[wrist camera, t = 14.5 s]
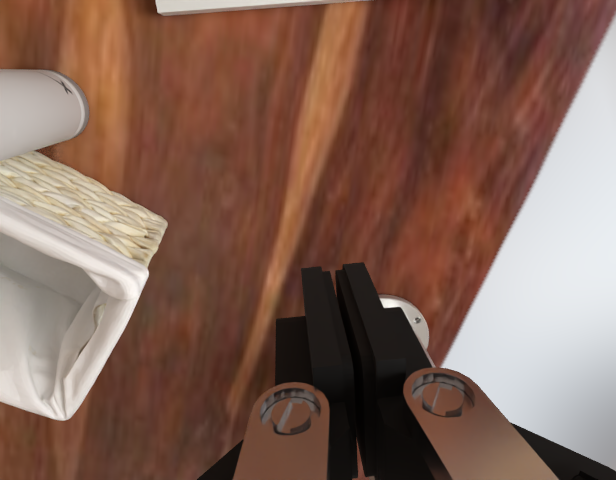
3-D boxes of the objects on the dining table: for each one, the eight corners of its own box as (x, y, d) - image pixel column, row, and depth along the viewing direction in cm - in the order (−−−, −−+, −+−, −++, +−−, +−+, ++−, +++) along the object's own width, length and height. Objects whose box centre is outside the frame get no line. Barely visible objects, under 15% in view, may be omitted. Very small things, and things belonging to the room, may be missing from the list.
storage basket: (188, 220, 43) (146, 287, 30) (126, 331, 48) (66, 433, 34) (-52, 92, 37) (-243, 104, 24) (-96, 234, 42) (-277, 312, 28)
